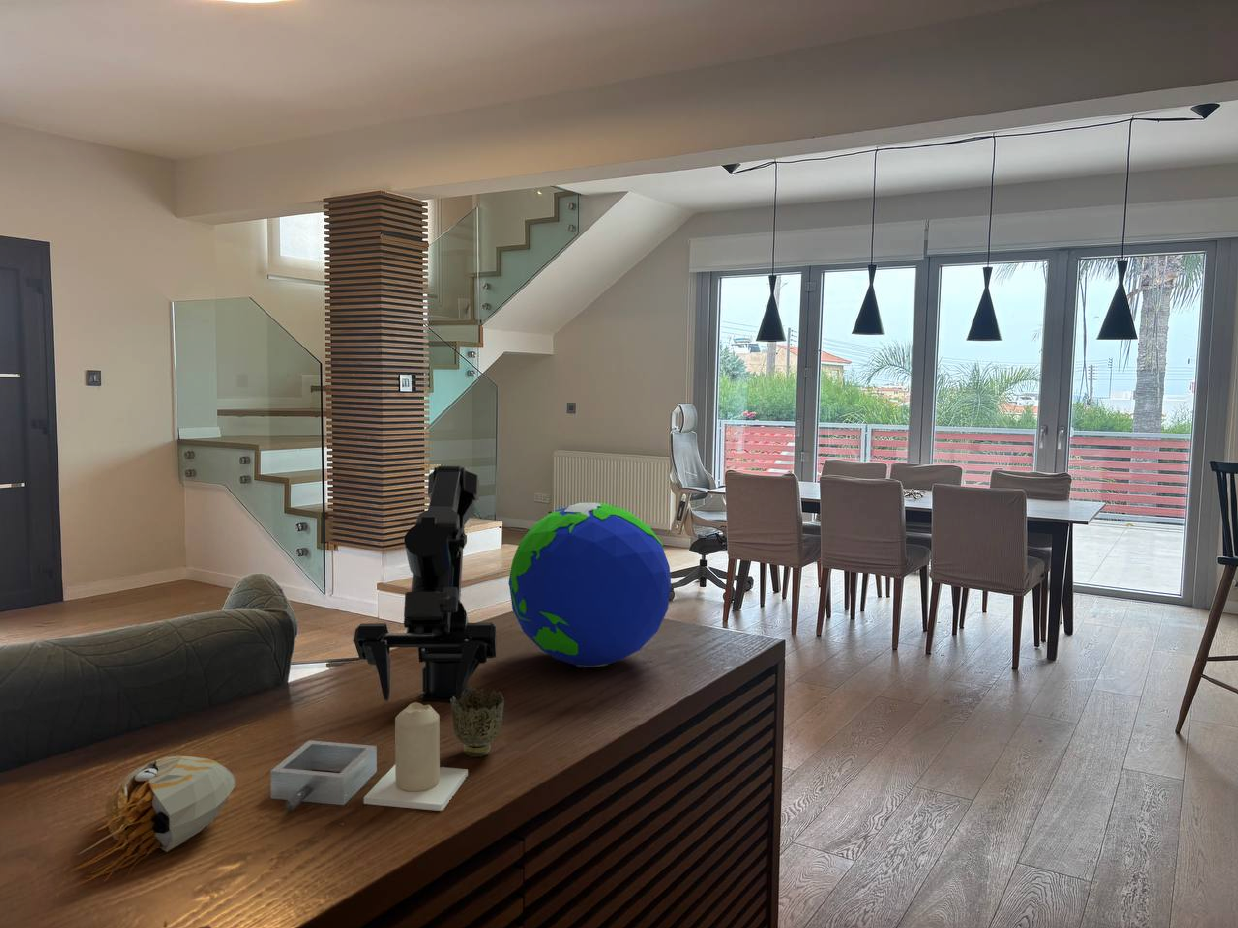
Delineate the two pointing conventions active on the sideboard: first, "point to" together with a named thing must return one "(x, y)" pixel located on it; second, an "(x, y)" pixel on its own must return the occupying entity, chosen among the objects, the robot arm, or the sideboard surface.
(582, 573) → the globe
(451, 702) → the cup
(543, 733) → the sideboard surface
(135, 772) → the nautilus
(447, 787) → the tile
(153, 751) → the sideboard surface
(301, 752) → the small drawer with knob
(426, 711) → the candle
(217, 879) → the sideboard surface
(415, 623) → the robot arm
